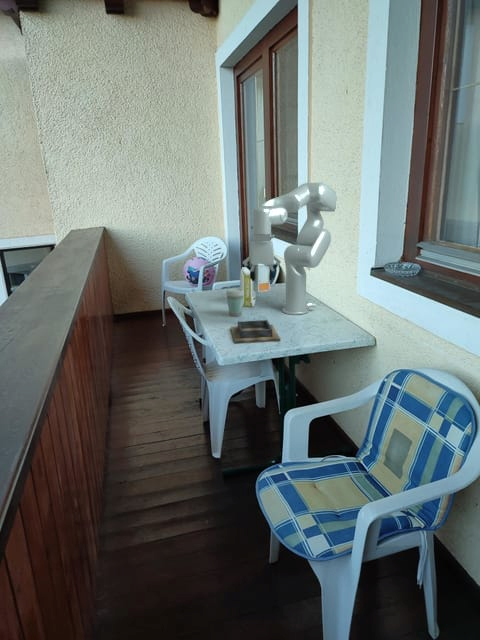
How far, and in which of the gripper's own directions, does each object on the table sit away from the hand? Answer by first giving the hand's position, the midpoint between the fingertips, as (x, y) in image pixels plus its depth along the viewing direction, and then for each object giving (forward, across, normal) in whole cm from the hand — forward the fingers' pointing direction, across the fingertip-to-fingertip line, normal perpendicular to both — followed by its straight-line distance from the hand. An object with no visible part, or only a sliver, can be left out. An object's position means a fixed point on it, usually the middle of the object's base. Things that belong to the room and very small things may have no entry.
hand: (261, 279), depth 188 cm
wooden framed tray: (+20, +5, +13) cm, 24 cm away
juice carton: (+20, +2, -32) cm, 38 cm away
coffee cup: (+20, +10, -16) cm, 28 cm away
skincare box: (+5, 0, 0) cm, 5 cm away
